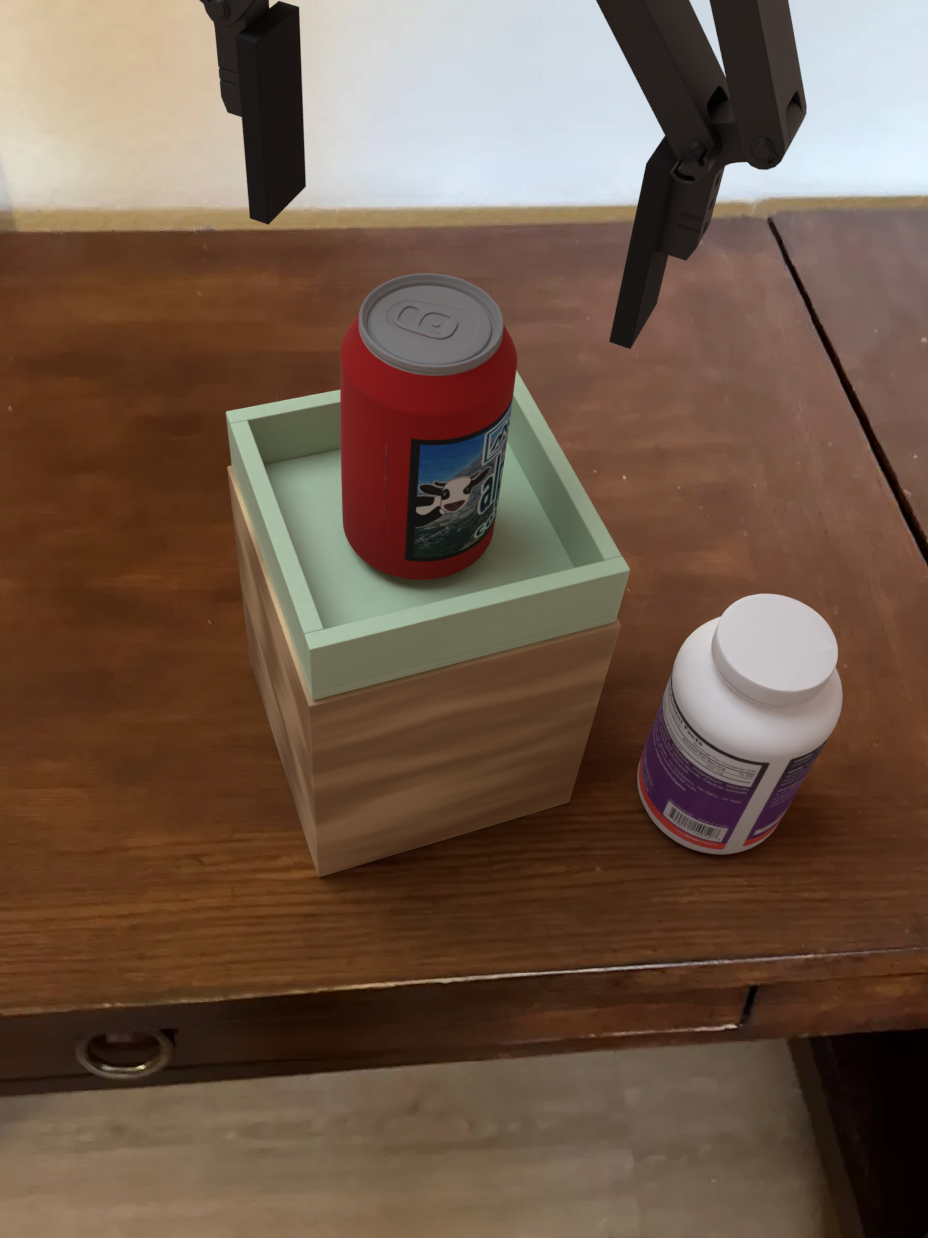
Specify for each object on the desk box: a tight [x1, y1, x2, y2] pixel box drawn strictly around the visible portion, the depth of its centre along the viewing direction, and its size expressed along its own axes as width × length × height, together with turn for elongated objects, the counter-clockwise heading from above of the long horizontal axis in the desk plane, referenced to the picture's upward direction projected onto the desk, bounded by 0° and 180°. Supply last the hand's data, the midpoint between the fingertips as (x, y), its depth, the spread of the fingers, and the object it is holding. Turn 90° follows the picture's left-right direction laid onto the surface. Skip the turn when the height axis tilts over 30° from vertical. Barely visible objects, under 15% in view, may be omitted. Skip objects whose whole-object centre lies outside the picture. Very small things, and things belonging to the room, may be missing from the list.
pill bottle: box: [636, 593, 844, 855], centre depth 60 cm, size 8×8×14 cm
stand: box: [226, 465, 622, 878], centre depth 61 cm, size 14×14×16 cm
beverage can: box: [339, 272, 518, 580], centre depth 49 cm, size 7×7×12 cm
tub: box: [225, 370, 631, 700], centre depth 53 cm, size 14×14×4 cm
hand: (449, 261), depth 42 cm, fingers open, 13 cm apart
